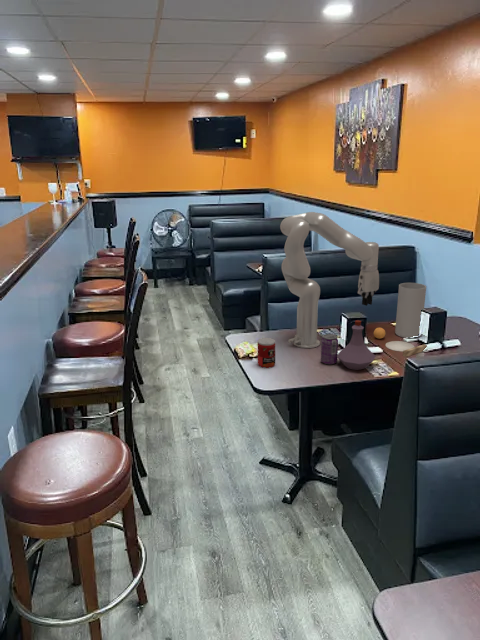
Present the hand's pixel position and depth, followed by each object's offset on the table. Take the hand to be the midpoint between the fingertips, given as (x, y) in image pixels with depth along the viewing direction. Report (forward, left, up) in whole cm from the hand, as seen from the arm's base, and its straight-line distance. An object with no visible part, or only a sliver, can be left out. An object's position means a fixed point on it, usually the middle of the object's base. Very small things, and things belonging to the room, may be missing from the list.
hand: (366, 304), depth 247 cm
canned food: (-64, -5, -15) cm, 66 cm away
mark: (0, -22, -15) cm, 27 cm away
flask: (-33, -27, -15) cm, 46 cm away
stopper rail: (-1, -32, -15) cm, 35 cm away
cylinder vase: (+16, -13, -15) cm, 26 cm away
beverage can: (-40, -18, -15) cm, 47 cm away
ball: (0, -9, -12) cm, 16 cm away
